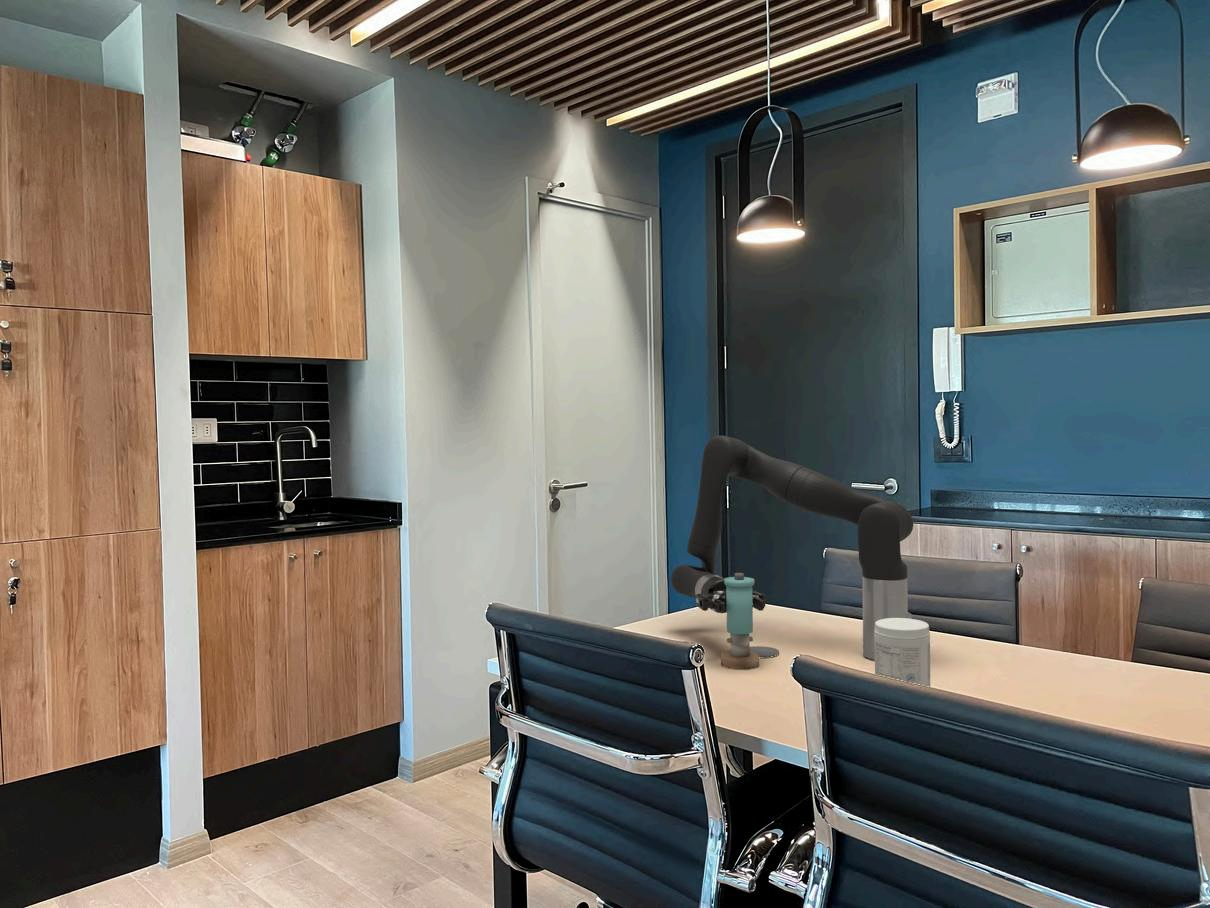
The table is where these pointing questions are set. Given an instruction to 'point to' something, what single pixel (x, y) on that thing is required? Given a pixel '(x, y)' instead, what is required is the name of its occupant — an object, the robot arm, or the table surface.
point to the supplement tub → (903, 650)
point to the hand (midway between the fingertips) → (742, 607)
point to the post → (740, 653)
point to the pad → (764, 651)
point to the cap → (739, 604)
